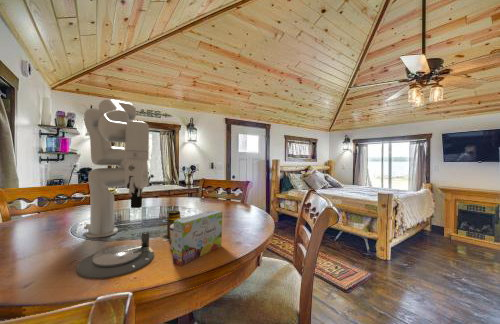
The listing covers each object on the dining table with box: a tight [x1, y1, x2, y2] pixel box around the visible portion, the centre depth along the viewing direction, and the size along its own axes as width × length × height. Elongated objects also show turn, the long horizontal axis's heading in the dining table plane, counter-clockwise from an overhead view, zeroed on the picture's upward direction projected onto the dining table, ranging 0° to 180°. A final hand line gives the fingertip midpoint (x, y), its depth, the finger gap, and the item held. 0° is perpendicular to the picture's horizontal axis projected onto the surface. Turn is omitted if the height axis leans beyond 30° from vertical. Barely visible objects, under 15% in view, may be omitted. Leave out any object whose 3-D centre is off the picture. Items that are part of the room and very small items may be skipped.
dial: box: [93, 231, 150, 268], centre depth 78 cm, size 18×15×6 cm
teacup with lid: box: [169, 224, 174, 251], centre depth 89 cm, size 12×9×12 cm
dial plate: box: [76, 244, 155, 279], centre depth 77 cm, size 23×23×1 cm
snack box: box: [172, 209, 223, 266], centre depth 84 cm, size 21×6×15 cm, turn 148°
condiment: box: [160, 210, 182, 242], centre depth 101 cm, size 7×8×12 cm
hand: (136, 207), depth 78 cm, fingers closed
